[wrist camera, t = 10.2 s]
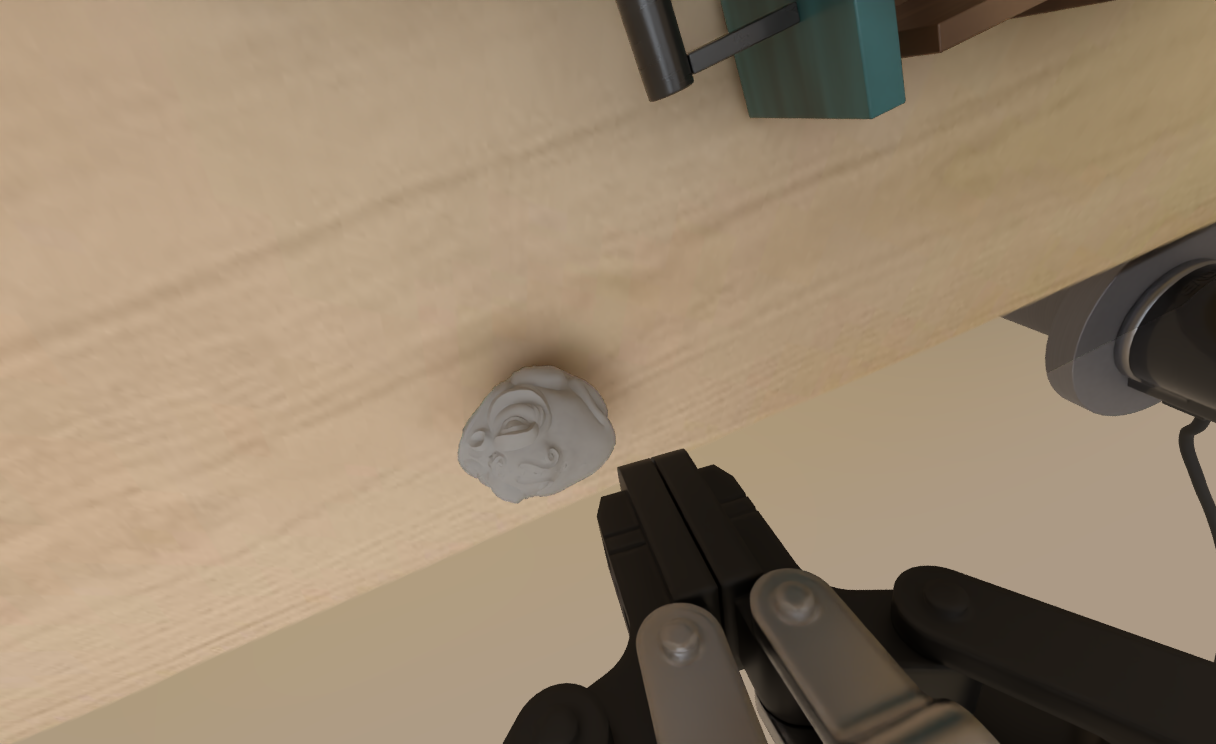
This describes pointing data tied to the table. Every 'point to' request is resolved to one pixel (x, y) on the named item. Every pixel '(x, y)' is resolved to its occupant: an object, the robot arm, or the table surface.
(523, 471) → the frog figurine
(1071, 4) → the cabinet
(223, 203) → the table surface
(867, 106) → the drawer
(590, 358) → the table surface
